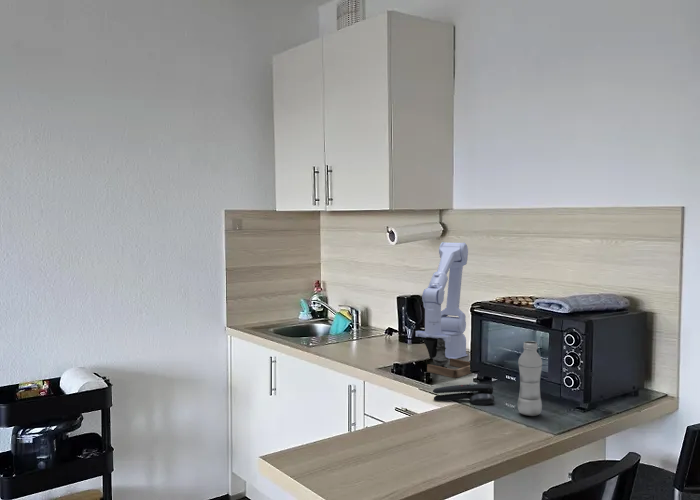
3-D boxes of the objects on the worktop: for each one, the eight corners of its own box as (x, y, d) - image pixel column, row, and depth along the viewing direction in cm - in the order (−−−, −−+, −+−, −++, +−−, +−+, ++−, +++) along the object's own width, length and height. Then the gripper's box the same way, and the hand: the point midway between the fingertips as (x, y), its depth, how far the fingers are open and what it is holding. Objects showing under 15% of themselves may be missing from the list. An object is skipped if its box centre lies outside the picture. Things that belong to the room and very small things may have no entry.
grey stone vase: (429, 369, 222) (430, 335, 222) (435, 365, 228) (436, 332, 227) (445, 371, 220) (446, 337, 219) (451, 367, 225) (452, 334, 224)
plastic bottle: (518, 418, 169) (519, 344, 168) (515, 410, 176) (516, 339, 175) (543, 419, 168) (544, 345, 167) (539, 411, 175) (540, 340, 174)
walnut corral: (451, 364, 229) (451, 358, 229) (479, 370, 220) (479, 363, 220) (427, 371, 219) (427, 364, 219) (455, 378, 211) (455, 370, 210)
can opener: (493, 399, 187) (493, 381, 186) (494, 406, 180) (495, 387, 180) (433, 397, 190) (433, 378, 189) (432, 403, 183) (432, 384, 183)
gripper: (410, 320, 228) (410, 357, 228) (442, 325, 217) (442, 364, 218) (422, 318, 233) (422, 354, 233) (454, 322, 222) (454, 360, 223)
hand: (432, 358), depth 226 cm, fingers closed
